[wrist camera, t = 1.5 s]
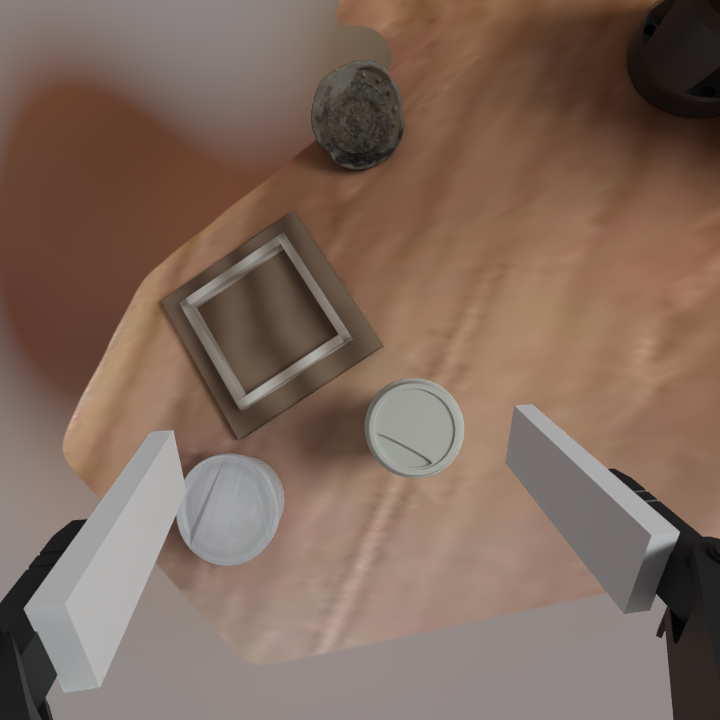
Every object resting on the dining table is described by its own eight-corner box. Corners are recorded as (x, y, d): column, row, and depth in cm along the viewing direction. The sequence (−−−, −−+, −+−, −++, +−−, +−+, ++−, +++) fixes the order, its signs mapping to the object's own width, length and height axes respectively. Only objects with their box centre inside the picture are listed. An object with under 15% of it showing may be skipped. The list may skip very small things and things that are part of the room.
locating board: (296, 214, 47) (290, 203, 45) (383, 346, 44) (382, 342, 42) (165, 303, 48) (152, 297, 46) (241, 439, 45) (232, 441, 43)
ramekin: (195, 456, 46) (168, 463, 40) (284, 440, 44) (268, 445, 39) (207, 554, 44) (180, 574, 39) (299, 539, 43) (285, 558, 38)
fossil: (347, 192, 46) (307, 111, 38) (321, 164, 52) (281, 88, 44) (422, 139, 46) (397, 44, 38) (388, 116, 51) (359, 30, 43)
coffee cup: (360, 408, 44) (343, 410, 32) (424, 369, 43) (431, 357, 31) (399, 475, 42) (396, 502, 30) (466, 436, 42) (488, 448, 30)
